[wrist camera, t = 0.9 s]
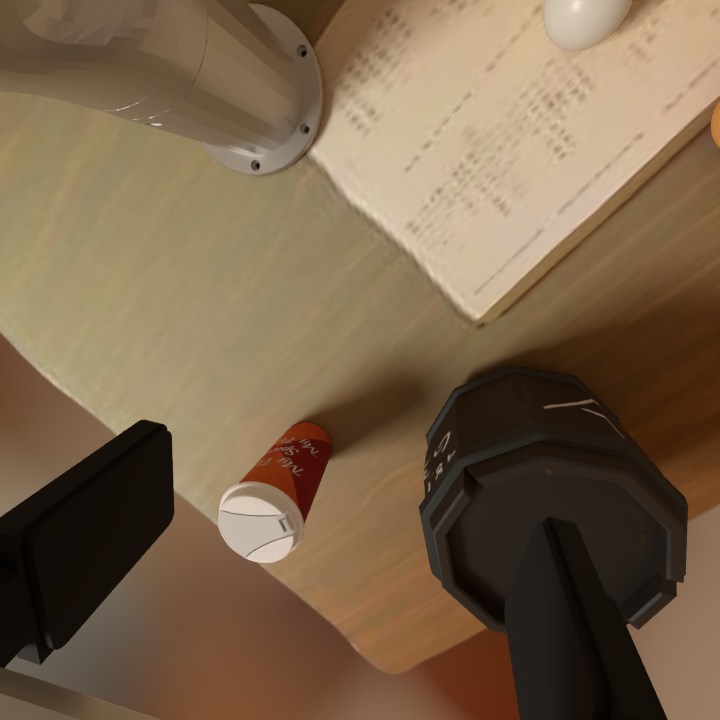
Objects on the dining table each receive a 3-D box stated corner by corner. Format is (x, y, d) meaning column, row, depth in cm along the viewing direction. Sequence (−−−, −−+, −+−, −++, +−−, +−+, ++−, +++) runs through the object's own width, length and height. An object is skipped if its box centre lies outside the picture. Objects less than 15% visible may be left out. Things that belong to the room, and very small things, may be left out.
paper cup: (326, 406, 44) (276, 483, 31) (350, 465, 46) (313, 562, 33) (265, 422, 47) (195, 500, 34) (291, 478, 48) (233, 573, 36)
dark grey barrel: (621, 511, 41) (714, 669, 27) (443, 516, 46) (440, 654, 31) (617, 343, 36) (730, 427, 22) (417, 368, 41) (400, 451, 26)
